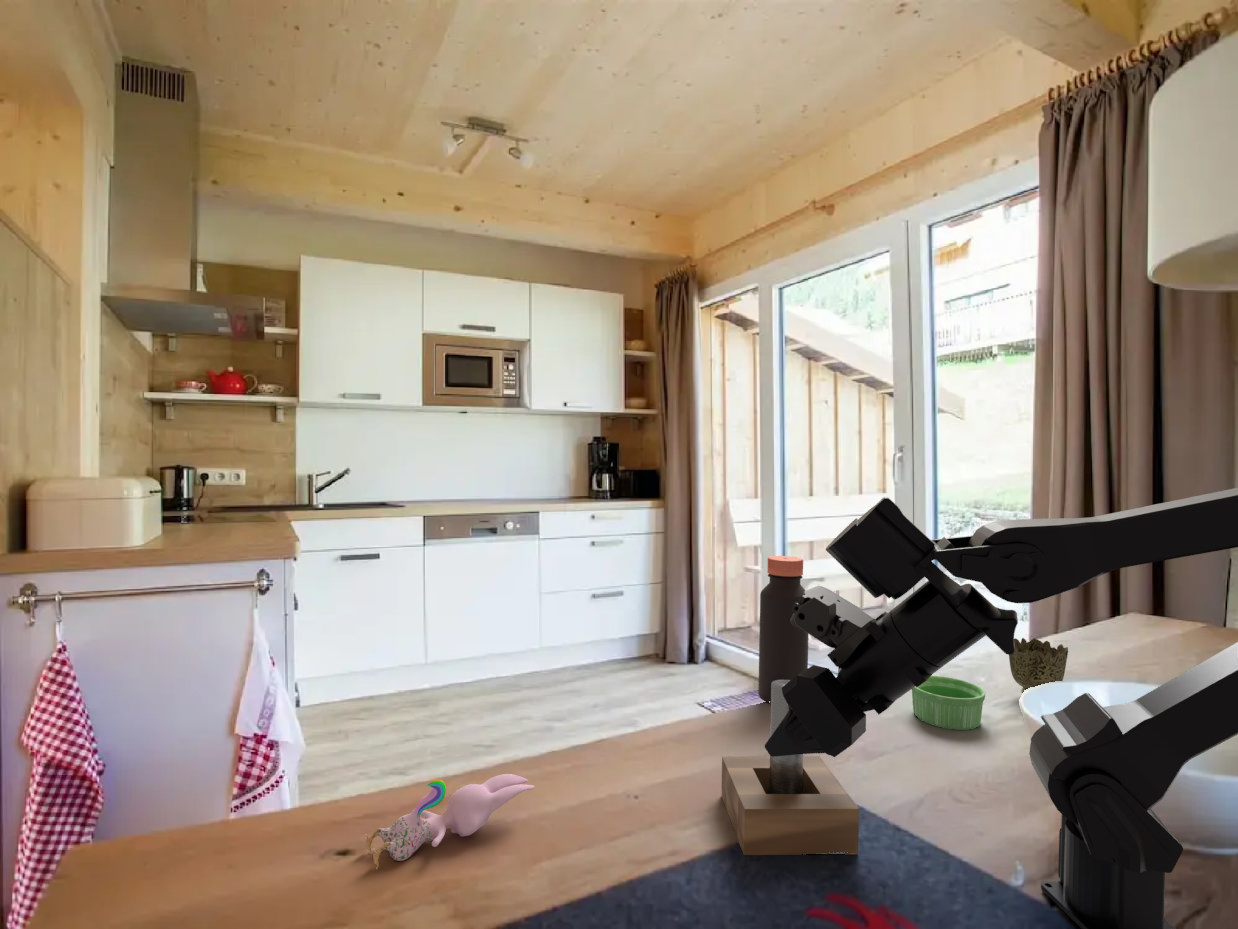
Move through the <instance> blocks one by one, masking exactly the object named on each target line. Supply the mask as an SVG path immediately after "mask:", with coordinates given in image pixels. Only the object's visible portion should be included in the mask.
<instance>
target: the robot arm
mask: <svg viewBox="0 0 1238 929" xmlns="http://www.w3.org/2000/svg"><path fill="white" fill-rule="evenodd" d="M1235 548H1238V487H1233V488H1229V489H1225V490H1219V491H1215V492H1210V493H1206V494H1199V495H1196V496H1195V495H1194V496H1189V497H1185V498H1180V499H1176V500H1171V501H1166V502H1161V503H1156V504H1151V505H1146V506H1141V507H1136V508H1132V509H1131V508H1130V509H1126V510H1120V511H1115V512H1112V513H1107V514H1101V515H1096V516H1091V517H1072V518H1069V517H1067V518H1059V517H1058V518H1026V519H1011V520H1010V519H1006V520H996V521H991V522H989V523H986V524H983V525H981V526H980V527H979V528H977V529H976V530H974V532H973V534H972V535H965V536H955V537H945V536H943V537H942V538H937V539H930V538H929V537H928V536H927V535H926V534H925V533H924V532H922V531H921V530H920V528H918V527H917V526H916V525H915V524H914V523H913V522H912V521H911V520H910V519H908V518H907V516H905V514H903V511H902V510H901V509H900V507H899V506H898V505H897V504H896V503H895V502H894V501H893V500H891V499H890V497H888V496H883V497H882V498H881V499H880V500H879V501H878V502H877V503H876V504H874V505H873V506H872V507H871V508H870V509H868V510H867V511H866V512H865V513H864V514H862V515H861V516H860V517H859V518H855V519H854V520H852V521H851V522H849V524H848V525H847V526H846V527H845V528H844V529H843V530H842V531H840V533H839V534H837V536H836V537H835V538H833V540H832V541H831V542H830V543H829V544H828V545H827V546H826V548H825V551H826V552H827V553H828V554H829V555H830V556H831V557H832V558H833V559H834V560H836V562H838V564H840V565H841V567H842V568H843V569H845V570H846V571H847V572H848V574H850V575H851V576H852V577H853V578H854V580H856V581H857V582H858V583H859V584H860V585H861V586H862V587H863V588H864V590H866V591H867V592H868V593H869V594H870V595H871V596H872V597H873V598H875V599H878V598H879V597H882V596H883V595H884V596H886V597H887V598H888V599H890V598H892V600H897V599H899V598H901V597H902V596H904V595H906V594H907V593H908V592H909V591H910V590H912V589H913V588H914V587H916V585H917V584H918V583H919V582H920V581H921V580H923V579H924V578H925V579H926V580H927V581H926V582H924V583H923V584H922V585H921V586H920V587H918V588H917V589H916V590H915V591H913V592H912V593H911V594H909V595H908V596H907V597H906V598H905V599H903V600H902V601H901V602H900V603H899V604H897V605H896V606H895V607H893V608H892V609H891V610H890V611H888V612H887V611H885V612H882V613H881V614H880V615H879V616H877V617H876V618H875V617H872V616H871V615H869V614H868V613H866V612H865V611H863V610H862V609H861V608H860V607H858V606H857V605H855V604H854V603H852V602H851V601H849V600H847V599H845V598H844V597H843V596H841V595H839V594H837V593H836V592H834V591H832V590H831V589H829V588H827V587H825V586H823V585H817V586H814V587H812V588H809V589H805V590H806V591H804V593H803V595H802V597H801V599H800V600H799V601H798V602H797V603H795V604H793V605H792V611H793V615H792V617H791V619H790V622H791V623H792V625H793V626H795V627H796V628H798V629H799V630H804V631H805V632H807V633H808V635H810V636H811V637H813V638H814V639H817V640H818V641H820V642H821V643H822V644H824V645H825V646H827V647H829V648H831V649H833V650H831V651H830V652H829V653H828V654H827V655H826V656H827V657H828V658H829V660H831V663H833V665H834V666H835V667H837V668H838V670H837V671H838V672H837V676H835V674H834V673H833V672H832V671H831V669H830V668H828V667H824V666H819V665H814V664H813V665H812V666H810V667H808V669H806V670H805V671H803V672H802V673H800V674H798V675H797V676H796V677H794V678H793V679H792V680H791V681H789V682H788V683H787V684H786V685H784V686H783V687H782V692H783V696H784V698H785V700H786V702H787V704H788V708H789V710H788V712H787V714H786V715H785V717H784V718H783V720H782V721H781V723H780V724H779V726H778V727H777V728H776V730H775V731H774V733H773V734H772V735H771V737H769V738H768V740H766V743H765V744H764V749H765V751H766V752H767V754H768V755H769V756H772V757H776V756H787V755H798V754H803V755H807V754H808V755H809V754H811V755H812V754H826V755H827V756H831V757H833V758H836V757H837V756H838V755H840V754H841V753H843V752H844V751H845V750H847V749H848V748H850V747H852V745H854V744H855V742H857V740H859V739H860V738H861V737H862V736H863V735H864V734H865V733H866V732H867V714H866V712H869V711H873V710H874V711H875V712H876V714H878V716H879V715H880V714H882V713H884V711H886V710H887V709H889V708H890V707H891V706H892V705H893V704H894V703H895V702H896V701H897V700H899V699H900V698H901V697H903V696H904V695H905V694H907V693H908V692H910V691H912V688H914V687H915V686H916V688H917V687H918V686H920V685H921V684H922V683H924V682H925V681H926V680H927V679H928V678H929V677H930V676H933V675H934V673H936V672H938V671H939V670H940V669H942V668H943V667H944V666H945V665H948V663H950V662H951V661H953V660H954V659H955V658H957V657H959V655H961V654H962V653H964V652H965V651H966V650H968V649H970V648H971V647H972V646H973V645H974V644H976V643H977V642H979V641H980V640H981V639H983V638H984V637H987V638H988V639H990V641H991V642H992V643H993V644H995V645H996V647H998V649H1000V650H1001V651H1002V652H1003V653H1004V654H1006V655H1008V656H1009V655H1012V654H1013V653H1014V652H1015V645H1014V639H1015V633H1016V628H1017V625H1018V624H1019V621H1018V613H1017V611H1016V610H1014V609H1003V608H999V607H996V605H994V604H992V603H991V601H990V600H988V599H987V598H986V597H985V596H984V595H983V593H981V592H980V591H979V590H977V589H976V588H975V587H974V586H973V585H972V584H971V583H964V584H959V583H958V582H956V581H955V580H954V579H952V578H951V577H950V576H949V575H947V574H946V573H945V572H944V571H943V570H941V569H940V568H939V567H938V566H937V565H936V564H935V563H934V562H933V561H934V560H935V561H936V562H938V563H939V564H940V565H941V566H942V567H943V569H945V570H946V571H948V572H949V573H950V574H951V575H952V576H953V577H955V578H959V579H964V580H969V581H972V582H976V583H981V584H982V585H983V586H984V587H985V588H986V589H987V591H989V592H990V593H991V594H992V595H995V596H996V597H998V598H1000V599H1001V600H1004V601H1006V602H1008V603H1014V604H1032V603H1034V602H1035V603H1037V602H1039V601H1041V600H1045V599H1048V598H1051V597H1054V596H1057V595H1059V594H1063V593H1064V592H1065V593H1066V592H1068V591H1071V590H1073V589H1077V588H1080V587H1082V586H1083V585H1085V584H1087V583H1089V582H1091V581H1093V580H1095V579H1097V578H1098V577H1101V576H1102V575H1103V576H1104V575H1105V574H1108V573H1111V572H1114V571H1116V570H1119V569H1123V568H1128V567H1134V566H1141V565H1145V564H1151V563H1157V562H1162V561H1168V560H1174V559H1180V558H1184V557H1191V556H1196V555H1202V554H1208V553H1213V552H1218V551H1224V550H1229V549H1235ZM1040 718H1041V720H1042V722H1043V723H1044V724H1043V725H1042V726H1041V727H1039V728H1038V729H1037V730H1036V731H1035V732H1034V733H1033V735H1032V736H1031V737H1030V746H1029V753H1028V754H1029V758H1030V761H1031V766H1032V767H1033V770H1034V771H1035V773H1036V775H1037V777H1038V779H1039V781H1040V782H1041V784H1042V786H1043V787H1044V789H1045V791H1046V793H1047V795H1048V797H1049V799H1050V800H1051V802H1052V803H1053V805H1054V806H1055V808H1056V811H1058V812H1059V813H1061V824H1060V825H1061V826H1060V829H1059V837H1058V838H1059V840H1058V867H1057V868H1058V869H1057V870H1058V874H1057V875H1058V878H1059V880H1044V881H1040V890H1042V892H1043V893H1044V894H1045V895H1046V896H1048V897H1049V899H1050V900H1052V901H1053V902H1054V903H1055V904H1056V905H1057V906H1058V907H1059V909H1061V910H1062V911H1063V912H1064V913H1065V914H1066V915H1067V916H1068V917H1069V918H1070V919H1071V920H1072V921H1073V922H1074V923H1075V924H1076V925H1077V926H1078V927H1080V928H1081V929H1176V927H1175V926H1173V925H1172V924H1171V923H1169V922H1168V921H1167V920H1165V900H1166V899H1165V898H1166V897H1165V896H1166V895H1165V894H1166V893H1165V892H1166V873H1167V874H1171V873H1172V872H1173V871H1174V869H1175V866H1176V865H1177V863H1178V861H1179V859H1180V857H1181V855H1182V854H1183V851H1184V848H1183V845H1182V844H1181V843H1180V842H1179V840H1178V839H1177V838H1176V837H1175V835H1174V834H1173V833H1172V832H1171V831H1170V830H1169V828H1168V826H1166V825H1165V823H1164V822H1163V821H1162V819H1161V818H1160V817H1159V816H1158V814H1157V813H1156V812H1155V811H1154V810H1153V809H1152V808H1153V807H1154V806H1156V805H1157V804H1159V802H1161V801H1162V800H1163V799H1164V797H1165V796H1166V794H1167V793H1168V791H1169V789H1170V788H1171V786H1172V784H1173V783H1174V781H1175V780H1176V778H1177V777H1178V775H1179V774H1180V772H1181V770H1182V769H1183V767H1184V766H1185V765H1186V764H1187V763H1189V761H1191V760H1192V759H1194V758H1196V757H1198V756H1200V755H1201V754H1204V753H1206V752H1208V751H1209V750H1211V749H1212V748H1214V747H1217V746H1219V745H1221V744H1222V743H1224V742H1227V741H1228V740H1230V739H1232V738H1233V737H1235V736H1238V641H1237V642H1235V643H1233V644H1232V645H1230V646H1228V647H1226V648H1225V649H1223V650H1221V651H1219V652H1218V653H1216V654H1214V655H1213V656H1210V657H1208V658H1207V659H1205V660H1204V661H1202V662H1200V663H1198V664H1197V665H1195V666H1193V667H1192V668H1189V669H1188V670H1186V671H1185V672H1183V673H1180V674H1179V675H1178V676H1176V677H1174V678H1172V679H1171V680H1169V681H1167V682H1165V683H1163V684H1161V685H1159V686H1158V687H1156V688H1155V689H1153V690H1151V691H1149V692H1147V693H1146V694H1143V695H1142V696H1140V697H1139V698H1137V699H1135V700H1132V701H1129V702H1125V703H1122V704H1114V705H1107V706H1102V705H1101V704H1100V703H1099V702H1098V701H1097V700H1096V699H1095V698H1094V697H1093V696H1092V695H1091V694H1090V693H1088V692H1085V693H1082V694H1081V695H1079V696H1077V697H1076V698H1075V699H1074V700H1072V701H1071V702H1070V703H1069V704H1068V705H1067V706H1065V707H1064V708H1063V709H1061V710H1058V711H1056V712H1054V713H1048V714H1047V713H1046V714H1041V716H1040Z"/></svg>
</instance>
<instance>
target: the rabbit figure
mask: <svg viewBox="0 0 1238 929" xmlns="http://www.w3.org/2000/svg"><path fill="white" fill-rule="evenodd" d="M528 782H529V780H528V779H527V778H525V777H522V776H519V775H518V774H517V775H516V774H510V773H504V774H499V775H495V776H493V777H490V778H489V779H486V780H485V781H484V782H482V784H478V783H477V784H476V783H472V784H466V785H464V786H462V787H460V788H458V789H457V790H455V791H454V792H453V793H452V794H451V796H450V797H449V798H448V800H447V803H446V811H445V813H442V814H436V813H434V812H431V811H428V809H432V808H434V807H437V806H438V805H439V804H441V803H442V801H443V800H444V799H445V797H446V793H447V786H446V784H445V781H444V780H442V779H439V778H438V779H434V780H431V781H430V782H428V783H427V784H426V787H427V786H428V787H431V791H429V792H428V793H427V794H425V795H424V796H423V797H422V798H421V799H420V801H419V802H418V804H417V806H416V807H415V808H414V809H412V810H411V812H410V813H408V814H404V815H402V816H400V817H398V818H397V819H396V820H395V821H394V823H393V824H391V825H390V826H388V827H385V828H384V827H383V828H382V827H378V828H376V830H375V831H374V832H373V833H372V835H371V836H370V837H369V835H368V834H367V833H365V834H364V836H365V837H366V839H365V843H366V848H365V849H368V850H369V852H368V854H371V853H372V851H373V854H372V858H373V863H374V864H375V865H376V867H375V869H376V870H378V869H379V867H380V866H379V864H380V863H379V860H380V855H381V853H382V852H383V851H384V850H386V851H388V852H389V855H390V856H391V858H392V859H393V860H395V861H397V862H402V861H406V860H408V859H409V858H410V857H411V856H412V855H413V854H415V852H416V851H417V850H418V849H419V848H420V847H421V846H422V845H423V844H424V843H425V842H430V841H432V842H431V846H432V847H434V848H436V847H438V846H439V844H440V843H441V842H442V840H443V838H444V837H445V835H446V830H447V828H450V832H451V833H453V834H458V835H459V836H460V837H469V836H471V835H472V834H474V833H475V832H476V831H477V830H479V829H480V828H481V827H483V826H484V825H486V824H487V822H489V819H490V817H491V815H492V814H493V813H494V812H495V811H496V810H498V809H500V808H502V807H503V806H505V805H506V804H507V803H508V802H509V801H511V800H512V799H514V798H515V797H516V796H518V795H519V794H522V793H524V792H526V791H529V790H530V791H531V790H534V789H535V785H533V784H526V783H528ZM376 837H379V838H380V839H382V841H383V845H382V846H381V847H380V848H379V849H378V850H377V851H376V849H375V848H372V846H371V845H372V844H373V840H374V839H375V838H376Z"/></svg>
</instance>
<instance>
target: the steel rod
mask: <svg viewBox="0 0 1238 929" xmlns="http://www.w3.org/2000/svg"><path fill="white" fill-rule="evenodd" d="M789 681H791V680H776V681H773V682H772V683H771V704H770V728H769V730H770V733H769V735H770V737H771V735H772V734H773V733H774V731H775V730H776V728H777V727H778V726H779V724H780V723H781V721H782V720H783V718H784V717H785V715H786V714H787V712H788V710H789V708H788V704H787V702H786V700H785V698H784V696H783V692H782V687H783V686H784V685H786V684H787V683H788V682H789ZM770 737H769V738H770ZM769 756H770V755H769ZM803 756H804V754H798V755H787V756H776V757H772V756H770V775H769V794H802V777H803Z"/></svg>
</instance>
